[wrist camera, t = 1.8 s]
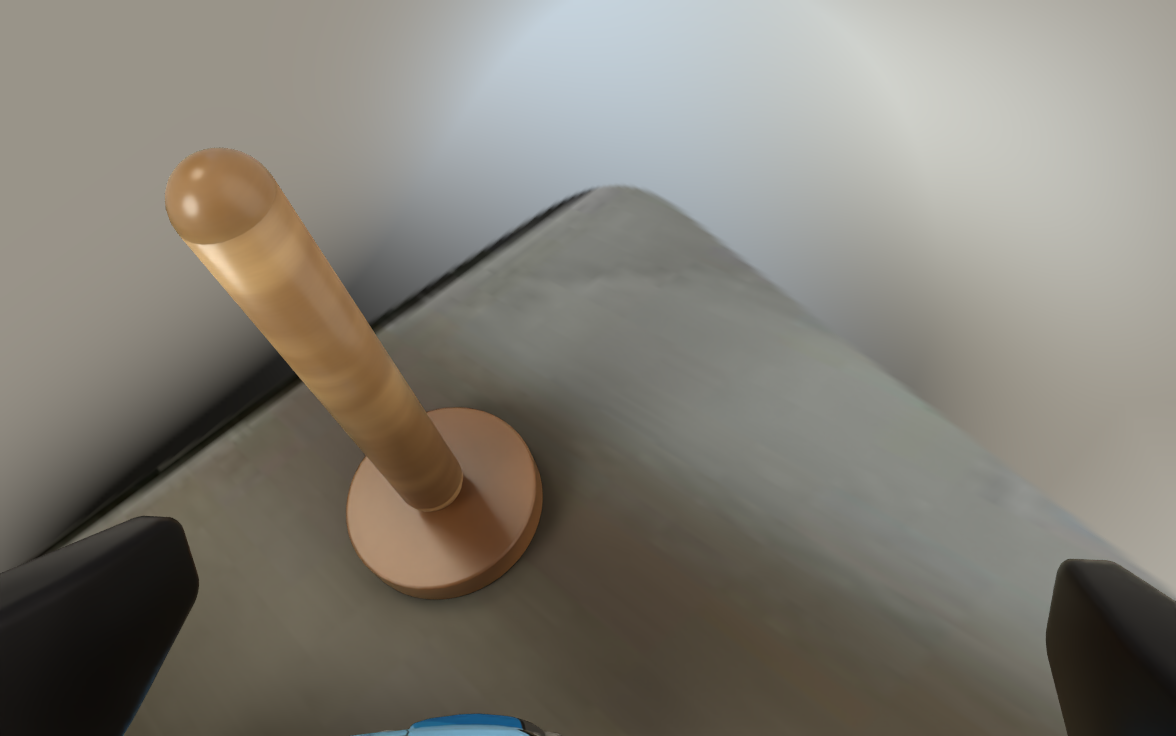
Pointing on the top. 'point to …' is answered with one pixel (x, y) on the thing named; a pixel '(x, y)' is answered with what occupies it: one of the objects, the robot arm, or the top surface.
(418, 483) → the wooden peg stand
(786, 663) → the top surface
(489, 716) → the toy car
